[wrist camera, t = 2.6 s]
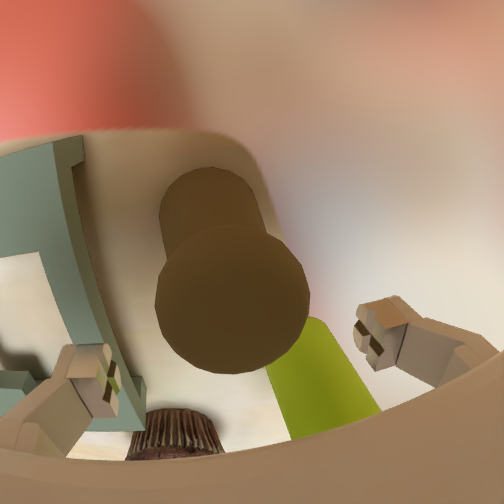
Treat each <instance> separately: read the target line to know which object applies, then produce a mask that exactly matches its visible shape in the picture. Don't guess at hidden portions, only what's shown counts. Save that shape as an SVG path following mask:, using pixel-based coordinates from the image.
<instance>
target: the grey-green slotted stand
mask: <svg viewBox="0 0 504 504" xmlns="http://www.w3.org/2000/svg"><path fill="white" fill-rule="evenodd" d="M84 160H85V155H84V147H83V139H82V135H80V136H75V137H71V138H67V139H63V140H59V141H55V142H51V143H47V144H43V145H40V146H36V147H33V148H29V149H26V150H22V151H19V152H16V153H13V154H10V155H7V156H4V157H1V158H0V258H2V257H8V256H14V255H20V254H26V253H32V252H38V251H39V254H40V257H41V260H42V263H43V266H44V270H45V273H46V276H47V279H48V282H49V284H50V287H51V290H52V293H53V296H54V298H55V301H56V304H57V306H58V309H59V311H60V314H61V316H62V319H63V321H64V324H65V326H66V328H67V331H68V333H69V335H70V337H71V340H72V342H73V344H92V343H107V344H108V345H109V346H110V349H111V351H112V357H111V360H113V361H114V362H115V363H117V366H118V368H119V372H120V376H121V390H120V392H119V393H118V394H117V395H116V396H117V398H118V400H119V406H118V415H117V418H93V421H92V422H91V423H90V425H89V426H88V427H87V429H86V430H85V431H96V432H117V431H145V426H146V389H147V388H146V386H145V383H144V381H143V378H142V376H141V377H130V374H129V372H128V370H127V367H126V365H125V362H124V360H123V357H122V355H121V352H120V350H119V347H118V344H117V342H116V339H115V336H114V334H113V331H112V328H111V325H110V322H109V319H108V316H107V313H106V310H105V307H104V304H103V301H102V298H101V295H100V292H99V288H98V285H97V282H96V278H95V275H94V271H93V268H92V264H91V260H90V256H89V253H88V249H87V245H86V241H85V236H84V232H83V228H82V223H81V219H80V214H79V209H78V204H77V199H76V193H75V188H74V182H73V176H72V170H71V167H72V166H74V165H76V164H78V163H80V162H82V161H84ZM43 381H45V380H34V379H33V377H32V376H31V374H30V372H29V371H7V370H0V419H1V417H2V416H3V415H4V414H6V413H7V412H8V411H9V410H10V409H11V408H13V407H14V406H15V405H16V404H17V403H18V402H20V401H21V400H22V399H23V398H24V397H25V396H27V395H28V394H29V393H30V392H31V391H33V390H34V389H35V388H36V387H37V386H39V385H40V384H41V383H42V382H43Z"/></svg>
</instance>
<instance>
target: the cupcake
mask: <svg viewBox="0 0 504 504" xmlns="http://www.w3.org/2000/svg"><path fill="white" fill-rule="evenodd" d="M223 453H225V451H224V449H223V447H222V445H221V443H220V441H219V438H218V435H217V433H216V430H215V428H214V426H213V423H212V421H211V420H210V419H208V418H207V417H206V416H205V415H203V414H200V413H198V412H197V411H191V410H189V409H180V410H179V409H160V410H154V411H152V412H149V413H147V414H146V426H145V431H134V433H133V436H132V440H131V445H130V448H129V450H128V454H127V457H126V459H125V461H140V460H164V459H178V458H189V457H199V456H208V455H215V454H223Z"/></svg>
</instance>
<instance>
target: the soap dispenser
mask: <svg viewBox="0 0 504 504" xmlns="http://www.w3.org/2000/svg"><path fill="white" fill-rule="evenodd" d="M265 368H266V370H267V373H268V376H269V379H270V382H271V384H272V387H273V390H274V393H275V396H276V398H277V401H278V404H279V407H280V409H281V412H282V415H283V418H284V420H285V423H286V426H287V428H288V431H289V434H290V437H291V439H292V440H294V439H298V438H302V437H306V436H310V435H313V434H317V433H320V432H324V431H327V430H330V429H334V428H337V427H340V426H343V425H346V424H349V423H352V422H355V421H358V420H361V419H364V418H366V417H369V416H372V415H375V414H377V413H380V412H382V411H381V409H380V408H379V406H378V405H377V403H376V402H375V400H374V398H373V397H372V395H371V394H370V392H369V391H368V389H367V388H366V386H365V384H364V383H363V381H362V380H361V378H360V377H359V375H358V373H357V372H356V370H355V369H354V367H353V366H352V364H351V363H350V361H349V359H348V358H347V356H346V355H345V353H344V352H343V350H342V349H341V347H340V346H339V344H338V343H337V341H336V339H335V338H334V336H333V335H332V333H331V332H330V330H329V329H328V327H327V326H326V324H325V323H324V322H322V321H321V320H319V319H317V318H313V317H307V320H306V323H305V325H304V328H303V330H302V332H301V335H300V337H299V339H298V340H297V341H296V342H295V343H294V345H293V346H292V347H291V348H290V349H289V351H288V352H287V353H285V354H284V355H283V356H281V357H280V358H278V359H277V360H276V361H274V362H273V363H271V364H269V365H267V366H265Z"/></svg>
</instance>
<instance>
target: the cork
mask: <svg viewBox="0 0 504 504" xmlns="http://www.w3.org/2000/svg"><path fill="white" fill-rule="evenodd" d="M159 219H160V226H161V232H162V237H163V242H164V247H165V251H166V256H167V262H166V264H165V266H164V267H163V269H162V271H161V273H160V275H159V278H158V285H157V292H156V299H155V310H156V314H157V318H158V322H159V326H160V329H161V332H162V335H163V337H164V338H165V339H166V341H167V342H168V343H169V345H170V346H171V348H172V349H173V350H174V351H175V352H176V353H177V354H178V355H179V356H180V357H182V358H183V359H185V360H186V361H188V362H189V363H190V364H192V365H193V366H195V367H196V368H199V369H203V370H206V371H209V372H212V373H218V374H239V373H245V372H251V371H255V370H257V369H259V368H262V367H264V366H267V365H269V364H271V363H273V362H274V361H276V360H277V359H278V358H280V357H281V356H283V355H284V354H285V353H287V352H288V351H289V349H290V348H291V347H292V346H293V345H294V343H295V342H296V341H297V340H298V339H299V337H300V335H301V332H302V330H303V328H304V325H305V323H306V320H307V317H308V314H309V304H310V291H309V287H308V283H307V280H306V277H305V274H304V271H303V268H302V265H301V264H300V263H299V262H298V260H297V259H296V258H295V256H294V255H293V254H292V253H291V252H290V250H289V249H288V248H287V247H286V246H285V245H284V243H283V242H282V241H280V240H278V239H276V238H275V237H273V236H271V235H269V234H268V233H267V232H266V229H265V226H264V223H263V220H262V217H261V214H260V211H259V208H258V205H257V202H256V200H255V197H254V194H253V192H252V190H251V189H250V187H249V186H248V185H247V184H246V183H245V182H244V180H243V179H242V178H240V177H238V176H237V175H235V174H233V173H232V172H230V171H228V170H223V169H219V168H214V167H211V168H202V169H196V170H193V171H191V172H189V173H187V174H184V175H182V176H181V177H180V178H178V179H177V180H176V181H175V182H174V183H173V184H172V185H171V186H170V187H169V188H168V190H167V192H166V194H165V196H164V197H163V199H162V202H161V207H160V213H159Z"/></svg>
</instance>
